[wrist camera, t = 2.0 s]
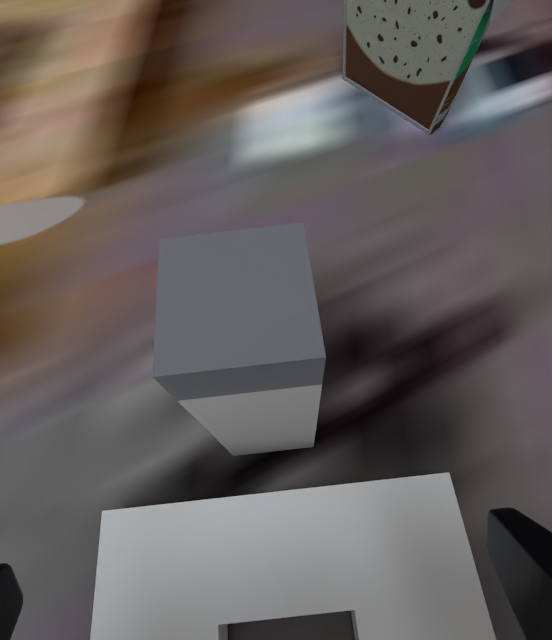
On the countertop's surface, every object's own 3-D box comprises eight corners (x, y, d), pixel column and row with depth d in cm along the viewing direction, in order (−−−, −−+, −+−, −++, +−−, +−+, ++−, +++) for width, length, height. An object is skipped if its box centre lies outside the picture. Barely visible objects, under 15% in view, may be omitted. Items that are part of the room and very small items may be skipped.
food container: (500, 107, 30) (582, -66, 21) (445, 145, 29) (509, -24, 20) (382, 41, 35) (410, -123, 26) (330, 71, 34) (340, -93, 25)
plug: (313, 446, 20) (325, 357, 9) (233, 455, 20) (152, 377, 9) (303, 371, 22) (303, 222, 11) (230, 379, 22) (159, 239, 11)
